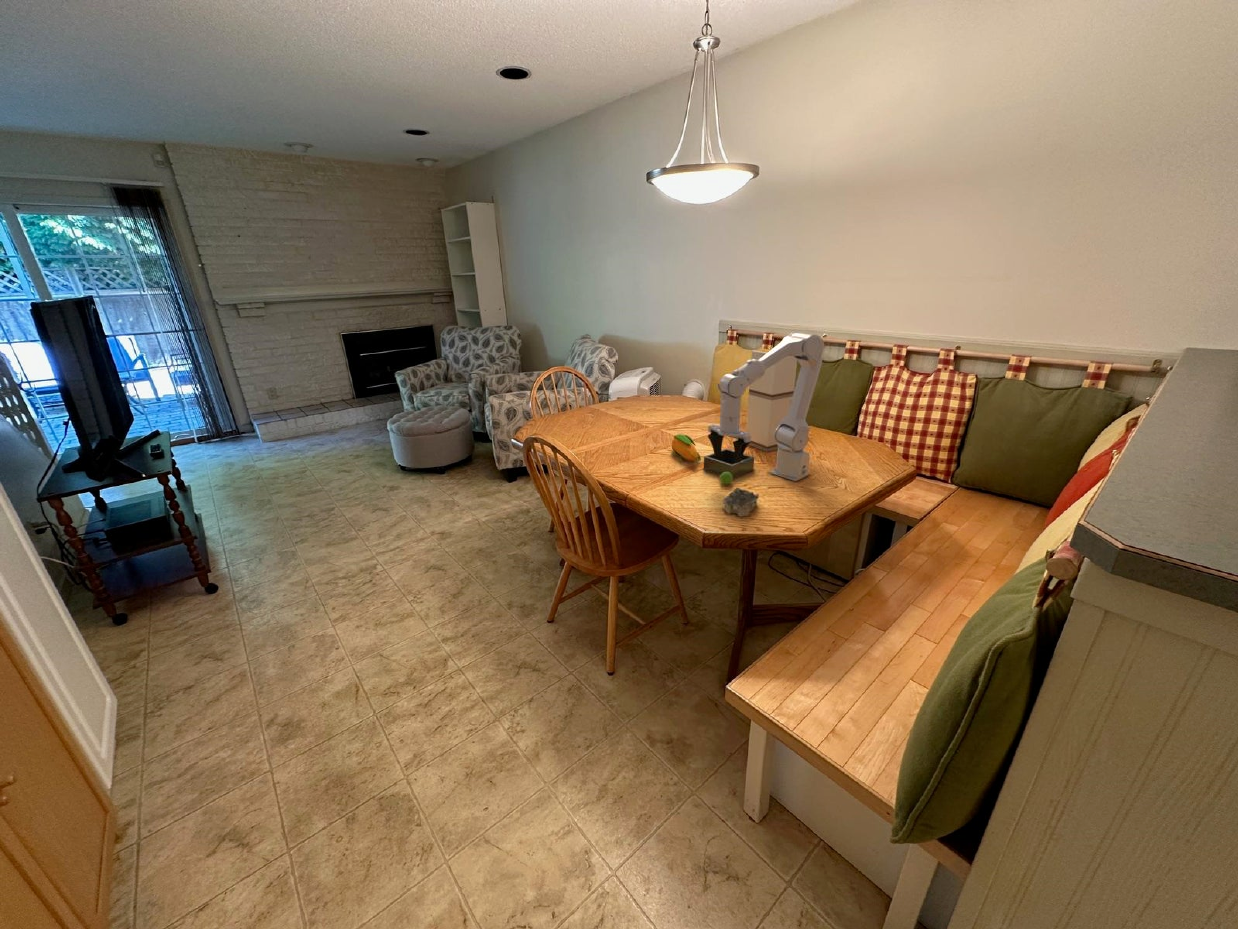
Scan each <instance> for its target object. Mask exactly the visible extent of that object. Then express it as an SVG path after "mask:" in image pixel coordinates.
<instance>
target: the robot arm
mask: <svg viewBox="0 0 1238 929" xmlns="http://www.w3.org/2000/svg"><path fill="white" fill-rule="evenodd" d="M825 345H826V344H825V342H824V341H823V338H821V336H820V335H819V334H809V333H802V332H799V331H793V332H790V333H789V334H788V335H786V336H784V337H783V338H782V339H781V341H780V343H778V344H777V345H776V346H774V347H772V348H773V349H772V348H771V350H769V351H768V352H766V353H767V354H765V355H764V356H763V357H762V358H760V359H759V360H756V359H752V360H751V358H749V359H747V360H746V361H745V363H744V364H743V365H742V366H740V367H739V368H737V369H734V370H732V373H727V374H724V375H723V376H722V377H721V378H720V380H719V382H718V383H717V389H718V391H719V392H720V411H719V412H720V414H719V425H716V424H710V425H708V428H707V432H708V433H709V434H708V435H707V438H708V439H709V441H710V443H711V446H712V450H713V453H714V455H715V457H717V456H720V455H721V450H723V449H722V448H723V441H724V437H729V438H732V439H735V440H734V441H732V445H733V451H735V456H734V461H735V463H739V462H741V459H742V456H743V454H745V451H746V449H747V448H748V446H750V445H749V443H750V441H751V435H750V434H747V433H746V431H743V430H741V429H740V426H741V425H740V422H741V409H742V407H741V406H742V396H743V395H744V394H745V393H746V391H747V389H748V388H749V385H751V384H752V383H753V382H755V381H756V380H758V379H759V378H761V377H762V376H763V375H764V374H765V369H767V368H769V367H770V366H772V365H774V364H775V363H777V362H779V361H780V360H782V359H783V358H785V357H787V356H794V357H795V358H796V359H797V363H798V364H799V365H800V369H799V373H798V376H797V379H796V382H795V386H794V394H793V397H792V400H791V401H790V408H789V411H788V414H787V416H786V417H785V418H783V419H781V420H780V424H779V426H778V427H777V428H776V430H775V433H774V438H775V440H776V441H777V445H778V449H777V454H776V462H775V468H774V469H772V470H770V471H769V474H772V475H774V476H779V477H781V478H784V479H788V480H790V481H793V482H797V481H799V480H802V479H803V478H805V477H807V476H809V475H810V473H809V466H810V460H811V455H810V452H807V451H806V450H804V449H805V448H806V447H807V445H808V443H809V439H810V438H809V432H810V427H809V426H810V425H808V423H807V421H806V418H807V415H808V412H809V409H810V405H811V402H812V399H813V396H814V392H815V389H816V386H817V382H818V379H819V376H820V371H821V368H822V366H823V352H824V349H825Z"/></svg>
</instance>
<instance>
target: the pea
mask: <svg viewBox="0 0 1238 929" xmlns="http://www.w3.org/2000/svg"><path fill="white" fill-rule="evenodd" d="M733 480H734V478H733V476H732V474H731V473H729V472H723V473H722V474H721V475H719V481H720V483H721V484H722V485H725V486H727V485H730V484H731V483H732V482H733Z"/></svg>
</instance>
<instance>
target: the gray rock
mask: <svg viewBox="0 0 1238 929" xmlns="http://www.w3.org/2000/svg"><path fill="white" fill-rule="evenodd" d="M759 497H760V495H759V494H754V492H753V491H749V490H745V489H742V488H739V487H735V488H734V490H733V491H731V492H729V493H728V495H727V496H725V497H723V499H722V503H723V505H724V507H723V510H724V511H725V512H726V513H727V514H736V515H738V517H747V516H748V517H749V514H750V512H752V511H753V509H754V507H757V506H758V499H760V498H759Z"/></svg>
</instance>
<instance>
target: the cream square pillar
mask: <svg viewBox="0 0 1238 929" xmlns="http://www.w3.org/2000/svg"><path fill="white" fill-rule="evenodd" d="M773 348H774V347H772V348H771V350H772V349H773ZM767 353H768V352H765V351H758V350H751V357H750V360H752V359H756V360H759V359H760V358H762V357H763V356H764V355H765V354H767ZM797 366H798V360H797V359H796V358H795V357H794V356H787V357H785V358H783V359H782V360H780V361H779V362H777V363H775V364H774V365H772V366H770V367H769V368H767V369H765V374H764V375H763V376H762V377H761V378H759V379H758V380H756V381H755V382H753V383H752V384H751V385H749V386H748V398H747V413H746V426H745V433H747V434H750V435H751V441H750V443H749V445H748V446H750V447H753V448H756V449H758V450H761V451H764V452H766V453H768V452H773V451H776V450H778V445H777V441H776V440H775V438H774V433H775V430H776V428H777V427H778V426H779V424H780V420H781V419H783V418H785V417H786V416H787V414H788V411H789V408H790V404H791V401H792V397H793V394H794V390H795V386H796V375H797Z"/></svg>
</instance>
